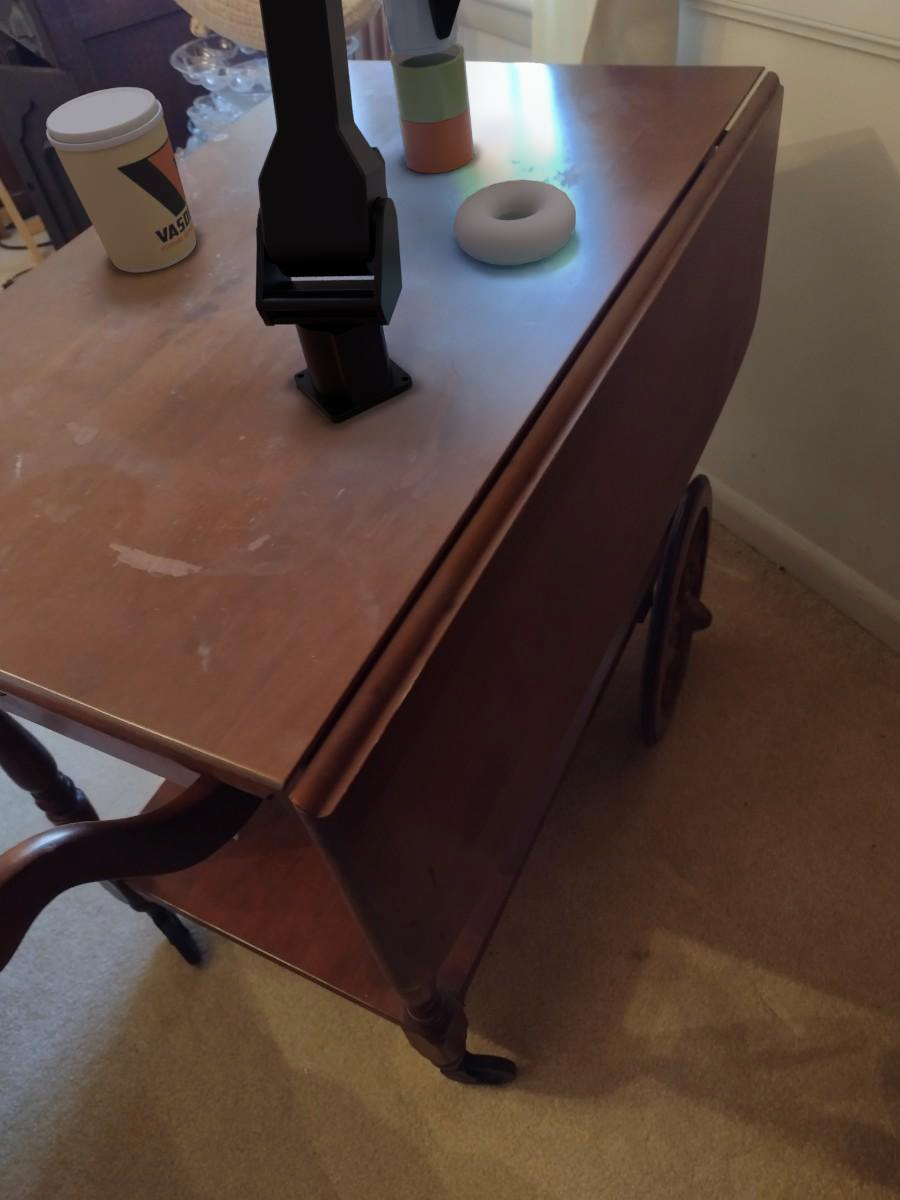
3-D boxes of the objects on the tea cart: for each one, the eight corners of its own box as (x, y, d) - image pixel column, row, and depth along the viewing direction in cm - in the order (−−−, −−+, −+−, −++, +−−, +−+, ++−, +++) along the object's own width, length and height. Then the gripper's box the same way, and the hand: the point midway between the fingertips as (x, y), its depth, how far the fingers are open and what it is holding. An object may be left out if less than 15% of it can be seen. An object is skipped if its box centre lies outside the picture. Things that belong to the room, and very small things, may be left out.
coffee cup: (182, 278, 78) (128, 133, 69) (85, 278, 80) (20, 137, 71) (221, 223, 84) (176, 82, 75) (129, 224, 86) (75, 87, 77)
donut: (539, 285, 71) (597, 221, 76) (537, 244, 68) (597, 181, 73) (433, 261, 75) (494, 202, 80) (427, 221, 73) (490, 163, 77)
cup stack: (487, 156, 86) (478, 51, 79) (429, 180, 84) (414, 75, 78) (449, 135, 90) (438, 34, 83) (392, 158, 88) (376, 56, 82)
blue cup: (471, 40, 79) (465, -35, 75) (413, 61, 77) (403, -14, 73) (434, 24, 82) (426, -48, 78) (377, 45, 81) (366, -28, 76)
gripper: (245, -192, 71) (294, 33, 82) (362, -169, 59) (399, 87, 71) (369, -224, 74) (399, -3, 85) (501, -208, 63) (515, 44, 74)
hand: (423, 29), depth 79 cm, fingers closed on blue cup, 6 cm apart
